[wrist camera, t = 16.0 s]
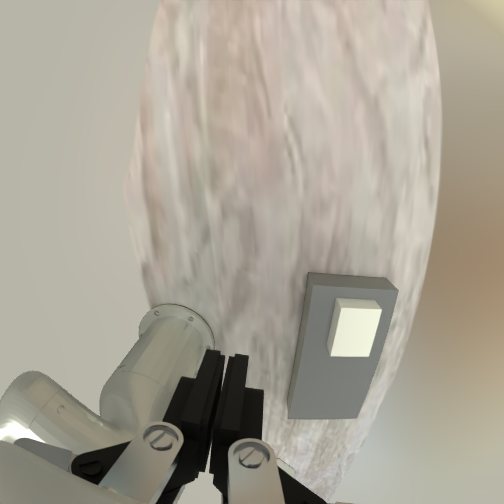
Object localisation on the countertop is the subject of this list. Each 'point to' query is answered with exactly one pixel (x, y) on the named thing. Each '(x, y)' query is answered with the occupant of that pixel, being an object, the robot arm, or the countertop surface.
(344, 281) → the socket board
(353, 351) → the plug
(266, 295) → the countertop surface
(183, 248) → the countertop surface
